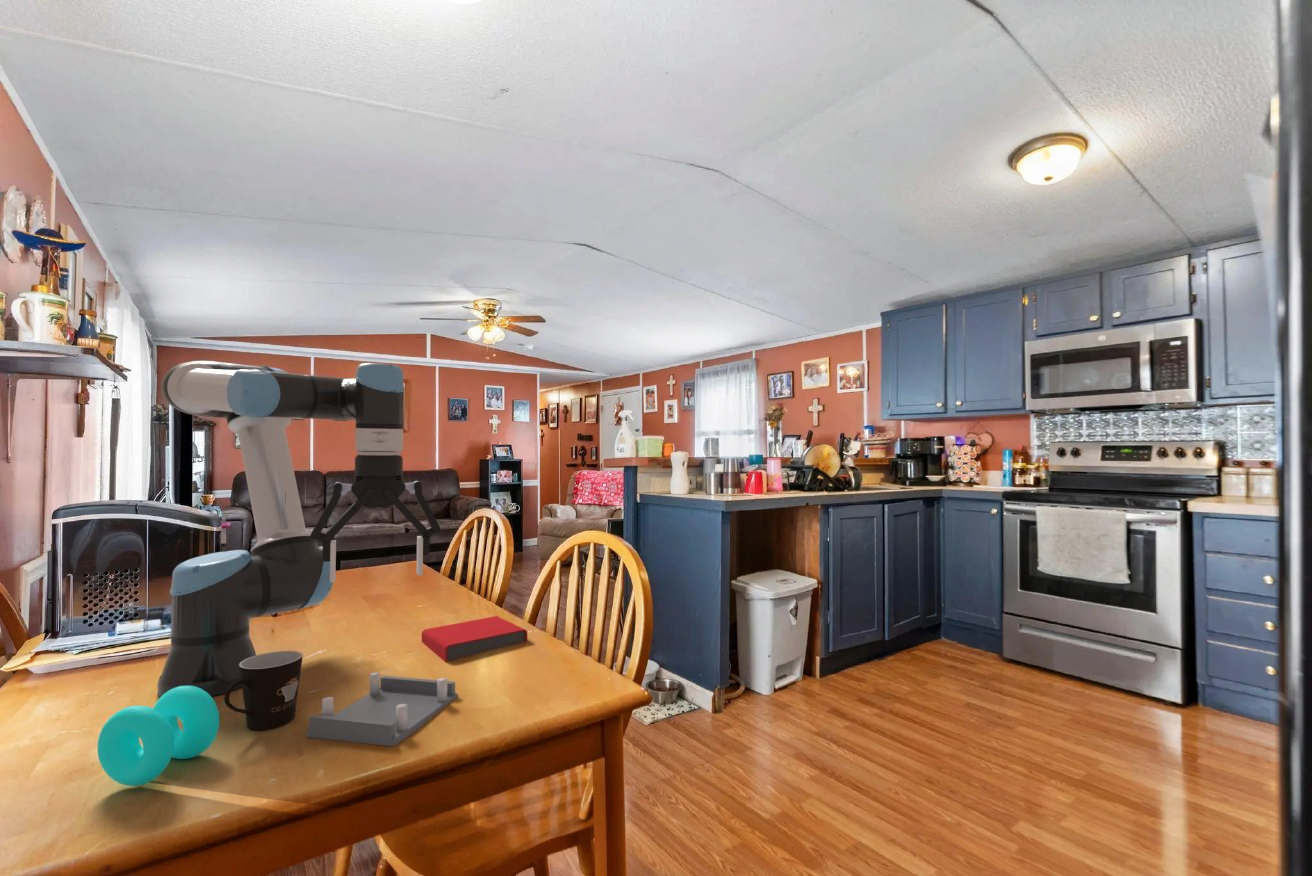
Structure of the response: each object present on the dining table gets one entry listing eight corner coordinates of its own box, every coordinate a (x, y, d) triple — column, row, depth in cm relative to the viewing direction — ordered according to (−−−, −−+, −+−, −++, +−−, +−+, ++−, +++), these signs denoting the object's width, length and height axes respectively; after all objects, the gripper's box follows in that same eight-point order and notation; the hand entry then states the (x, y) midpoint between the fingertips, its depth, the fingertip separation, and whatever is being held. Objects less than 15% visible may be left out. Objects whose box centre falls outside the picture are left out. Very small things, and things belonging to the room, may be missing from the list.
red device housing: (499, 636, 144) (499, 615, 144) (527, 652, 132) (527, 628, 133) (421, 653, 132) (421, 629, 132) (445, 671, 121) (445, 645, 121)
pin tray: (306, 736, 93) (306, 706, 93) (381, 692, 110) (381, 667, 110) (394, 746, 89) (394, 715, 90) (457, 699, 106) (457, 673, 107)
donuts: (90, 787, 79) (91, 708, 79) (164, 749, 89) (164, 680, 89) (157, 793, 78) (158, 713, 78) (224, 754, 88) (225, 684, 88)
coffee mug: (290, 706, 104) (290, 647, 104) (311, 720, 98) (311, 657, 99) (207, 731, 95) (208, 666, 95) (226, 748, 89) (226, 678, 90)
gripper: (293, 454, 97) (291, 588, 97) (457, 454, 108) (455, 575, 108) (297, 453, 104) (295, 578, 104) (451, 453, 115) (449, 567, 115)
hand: (377, 577), depth 106 cm, fingers open, 13 cm apart
